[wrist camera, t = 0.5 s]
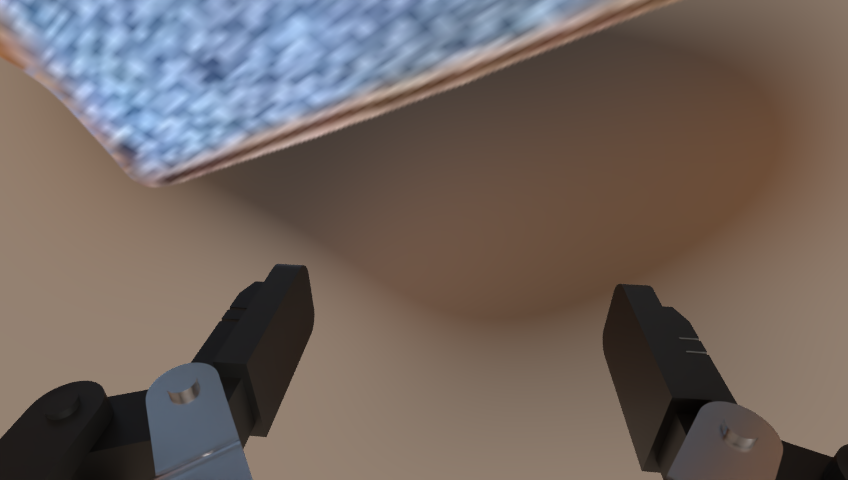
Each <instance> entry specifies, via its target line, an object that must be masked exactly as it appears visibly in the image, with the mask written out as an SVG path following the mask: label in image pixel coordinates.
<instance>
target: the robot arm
mask: <svg viewBox="0 0 848 480" xmlns="http://www.w3.org/2000/svg"><path fill="white" fill-rule="evenodd" d="M313 325H314V306H313V300H312V293H311V287H310V280H309V274H308V270H307V268H306V266H304V265H287V264H276V265H275V266H274V267H273V269H272V270H271V272H270V273H269V275H268V277H267V278H266V280H265V281H264V282H254V283H253V284H251V285H250V286H249V287H247V288H246V289H244V290H243V291H242V292H240V293H239V295H238V296H237V297H236V299H235V300H234V302H233V303H232V305H231V306H230V310H227V312H226V313H225V315H224V316H223V317H222V321H220V322H219V323H218V325H217V326H216V327H215V329H214V330H213V332H212V333H211V335H210V336H209V337H208V339H207V341H206V342H205V343H204V345H203V346H202V347H201V349H200V350H199V352H198V353H197V355H196V356H195V358H194V359H193V361H192V362H191V363H188V364H184V365H180V366H178V367H175V368H173V369H171V370H169V371H167V372H166V373H164V374H163V375H161V376H160V377H159V378H158V379H156V381H155V382H154V383H153V384H152V385H151V387H150V388H149V389H148V390H144V391H139V392H133V393H127V394H122V395H116V396H111V397H107V395H106V393H105V391H104V389H103V388H102V386H101V385H100V384H97V383H96V382H92V381H78V382H72V383H69V384H66V385H63V386H60V387H58V388H56V389H53V390H52V391H50V392H48V393H46V394H45V395H43V396H42V397H40V398H39V399H38V400H36V401H35V402H34V403H33V404H32V405H31V406H30V407H29V408H28V409H27V410H26V411H25V412H24V413H23V415H22V416H21V417H20V418H19V419H18V420H17V421H16V422H15V423H14V424H13V426H12V427H11V428H10V429H9V430H8V431H7V432H6V433H5V434H4V435H3V437H2V438H1V439H0V480H252V476H251V473H250V470H249V467H248V464H247V461H246V458H245V454H244V451H243V448H244V446H245V444H246V442H247V440H248V438H249V436H261V437H267V434H268V432H269V430H270V428H271V425H272V423H273V421H274V418H275V416H276V414H277V411H278V409H279V407H280V404H281V402H282V400H283V398H284V395H285V393H286V391H287V388H288V386H289V384H290V381H291V379H292V377H293V375H294V372H295V370H296V368H297V365H298V363H299V361H300V358H301V356H302V354H303V352H304V349H305V347H306V345H307V342H308V340H309V338H310V335H311V333H312V330H313ZM603 350H604V355H605V358H606V361H607V364H608V368H609V371H610V374H611V377H612V380H613V383H614V386H615V389H616V392H617V395H618V398H619V402H620V405H621V408H622V411H623V414H624V417H625V420H626V423H627V427H628V429H629V433H630V436H631V439H632V442H633V445H634V448H635V451H636V454H637V457H638V460H639V464H640V466H641V470H642V471H647V472H659V473H661V475H662V477H663V480H848V444H847V445H844V446H843V447H841V448H840V449H839V450H838V452H837V453H836V455H835V456H834V457H830V456H827V455H824V454H821V453H818V452H815V451H812V450H809V449H805V448H802V447H799V446H796V445H793V444H790V443H787V442H785V441H782V440H781V439H780V437H779V435H778V434H777V432H776V431H775V430H774V428H773V427H772V426H771V425H770V424H769V423H768V422H767V421H765V420H764V419H763V418H762V417H760V416H759V415H757V414H756V413H754V412H753V411H751V410H749V409H747V408H745V407H742V406H740V405H738V404H737V403H736V401H735V399H734V398H733V396H732V394H731V392H730V391H729V389H728V387H727V386H726V384H725V382H724V380H723V379H722V377H721V375H720V373H719V372H718V370H717V368H716V367H715V365H714V363H713V362H712V360H711V358H710V356H709V355H707V354H706V352H707V351H706V349H705V348H704V346H703V344H702V343H701V341H699V338H698V336H697V334H696V332H695V331H694V329H693V327H692V325H691V324H690V322H689V321H688V320H687V319H686V318H684V317H683V316H682V315H681V314H680V313H679V312H677V311H676V310H675V309H674V308H673V307H662V305H661V303H660V301H659V299H658V298H657V296H656V294H655V292H654V290H653V288H652V287H651V286H647V285H628V284H618V285H617V286H616V287H615V290H614V293H613V297H612V300H611V305H610V308H609V312H608V315H607V320H606V323H605V327H604V331H603Z"/></svg>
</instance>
